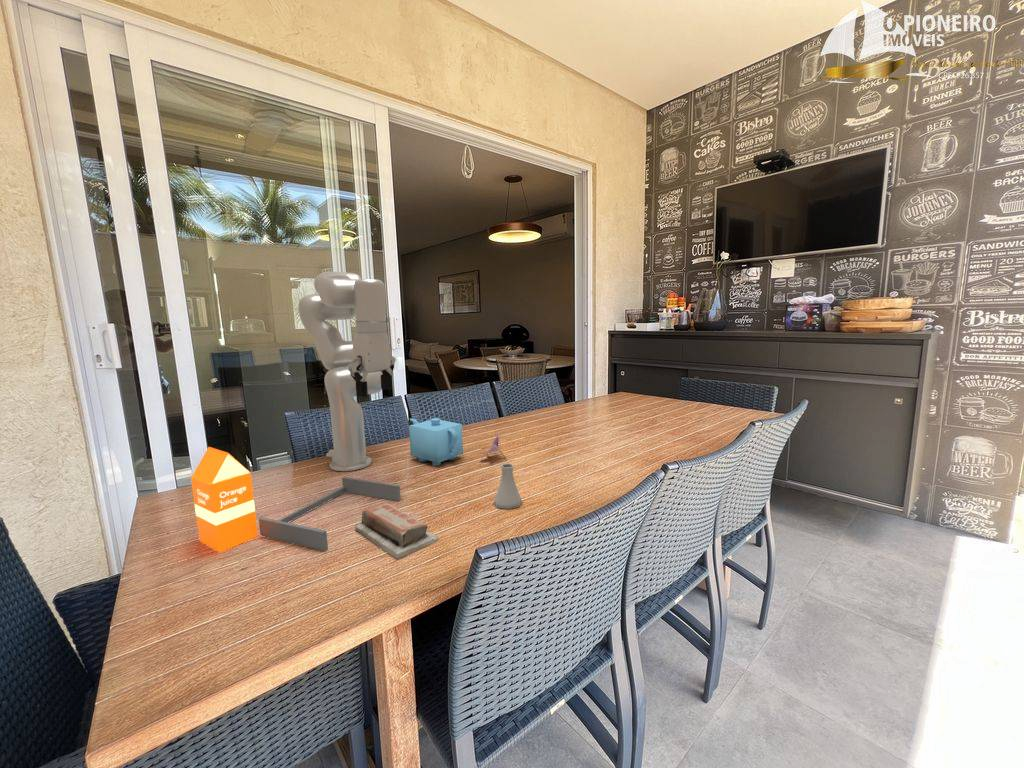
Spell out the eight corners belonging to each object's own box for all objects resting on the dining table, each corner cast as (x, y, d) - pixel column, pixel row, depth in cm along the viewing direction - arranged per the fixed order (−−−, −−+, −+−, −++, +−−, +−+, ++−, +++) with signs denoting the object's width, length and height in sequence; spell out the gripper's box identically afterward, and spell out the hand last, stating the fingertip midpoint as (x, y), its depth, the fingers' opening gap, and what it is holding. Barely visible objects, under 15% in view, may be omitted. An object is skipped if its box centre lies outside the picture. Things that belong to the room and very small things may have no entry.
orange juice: (219, 553, 85) (206, 458, 82) (199, 542, 90) (186, 451, 87) (259, 536, 92) (248, 447, 89) (238, 526, 97) (227, 441, 94)
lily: (501, 454, 148) (487, 431, 147) (524, 448, 140) (509, 423, 139) (481, 474, 139) (465, 450, 138) (504, 469, 131) (488, 443, 130)
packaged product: (352, 510, 94) (392, 497, 101) (353, 531, 94) (393, 516, 102) (396, 538, 82) (438, 520, 89) (397, 562, 82) (439, 542, 89)
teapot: (469, 460, 139) (468, 419, 137) (444, 470, 130) (442, 426, 128) (424, 448, 152) (422, 410, 150) (398, 456, 144) (396, 417, 141)
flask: (492, 498, 110) (491, 461, 108) (520, 496, 110) (520, 459, 109) (494, 510, 103) (493, 471, 101) (523, 509, 103) (523, 469, 102)
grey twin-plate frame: (260, 536, 92) (258, 518, 92) (345, 490, 116) (344, 476, 115) (324, 551, 86) (323, 532, 85) (400, 499, 109) (399, 485, 109)
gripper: (381, 326, 119) (384, 385, 123) (335, 329, 104) (339, 398, 107) (403, 327, 117) (406, 388, 120) (359, 330, 101) (363, 400, 104)
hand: (374, 392), depth 113 cm, fingers open, 9 cm apart
